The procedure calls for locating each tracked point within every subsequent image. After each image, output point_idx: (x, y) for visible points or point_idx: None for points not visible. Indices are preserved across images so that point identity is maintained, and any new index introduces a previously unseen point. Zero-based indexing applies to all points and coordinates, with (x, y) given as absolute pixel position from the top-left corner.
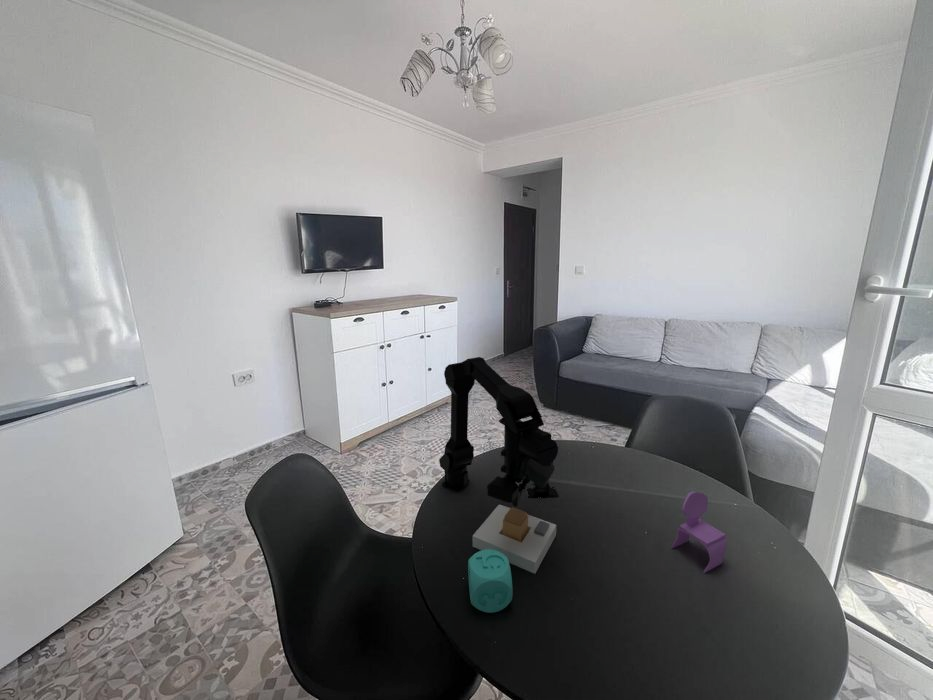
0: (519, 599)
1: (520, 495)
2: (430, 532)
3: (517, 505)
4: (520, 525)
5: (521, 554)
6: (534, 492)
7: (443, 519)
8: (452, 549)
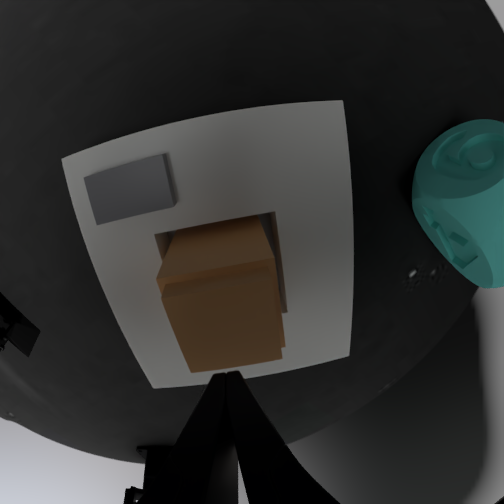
0: (424, 110)
1: (214, 443)
2: (342, 406)
3: (235, 375)
4: (263, 263)
5: (340, 171)
6: (13, 327)
7: (289, 420)
8: (368, 351)
